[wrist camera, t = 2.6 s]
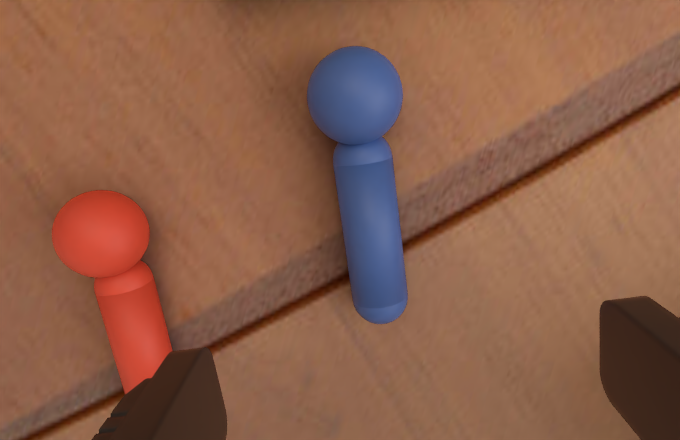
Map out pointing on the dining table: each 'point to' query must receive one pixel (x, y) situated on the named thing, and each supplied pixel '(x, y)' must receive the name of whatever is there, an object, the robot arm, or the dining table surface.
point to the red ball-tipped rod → (116, 277)
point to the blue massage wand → (364, 172)
